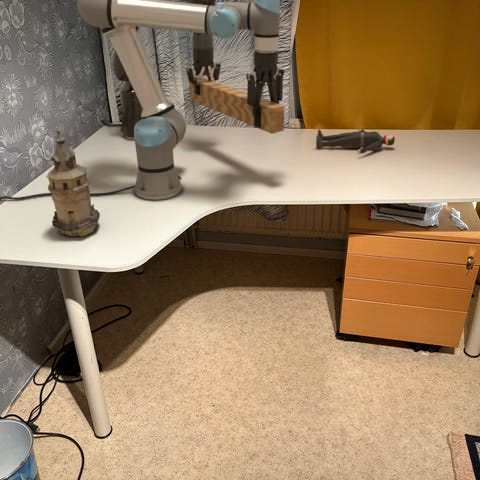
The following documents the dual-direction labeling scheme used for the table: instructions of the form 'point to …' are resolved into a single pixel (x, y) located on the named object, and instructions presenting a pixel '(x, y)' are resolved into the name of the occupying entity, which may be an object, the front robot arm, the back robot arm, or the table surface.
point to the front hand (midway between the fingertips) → (264, 124)
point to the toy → (355, 140)
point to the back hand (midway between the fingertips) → (204, 93)
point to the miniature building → (70, 193)
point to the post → (238, 105)
